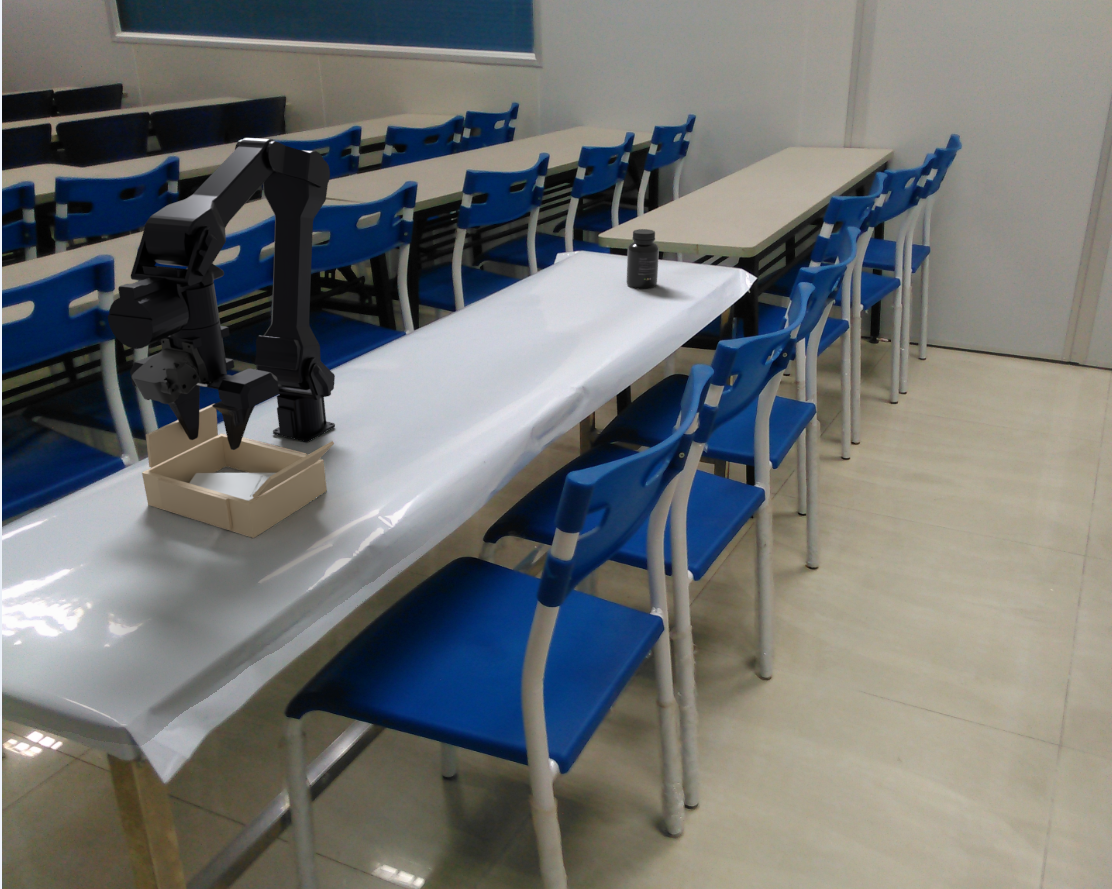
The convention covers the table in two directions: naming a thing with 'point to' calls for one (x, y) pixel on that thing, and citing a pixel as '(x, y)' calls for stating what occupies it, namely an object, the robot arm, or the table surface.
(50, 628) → the table surface
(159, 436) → the flap
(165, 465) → the carton
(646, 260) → the supplement bottle
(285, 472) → the flap
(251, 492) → the external hard drive
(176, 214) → the robot arm
